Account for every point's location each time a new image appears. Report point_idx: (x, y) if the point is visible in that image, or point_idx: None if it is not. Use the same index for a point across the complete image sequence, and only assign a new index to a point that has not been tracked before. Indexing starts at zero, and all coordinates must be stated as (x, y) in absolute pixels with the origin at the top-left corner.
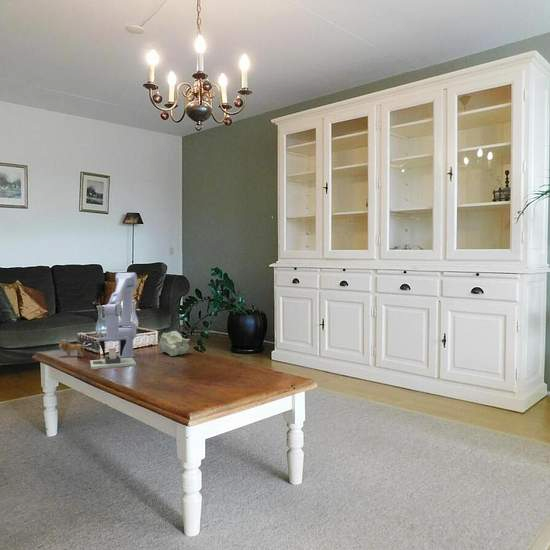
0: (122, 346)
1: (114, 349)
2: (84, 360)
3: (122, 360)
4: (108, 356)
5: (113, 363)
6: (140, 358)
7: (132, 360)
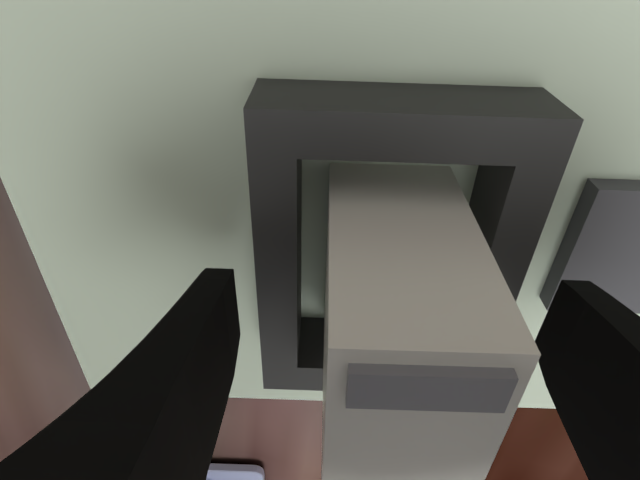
0: (77, 458)
1: (374, 408)
2: None
3: None
4: None
5: (398, 84)
6: (14, 392)
7: (44, 218)
